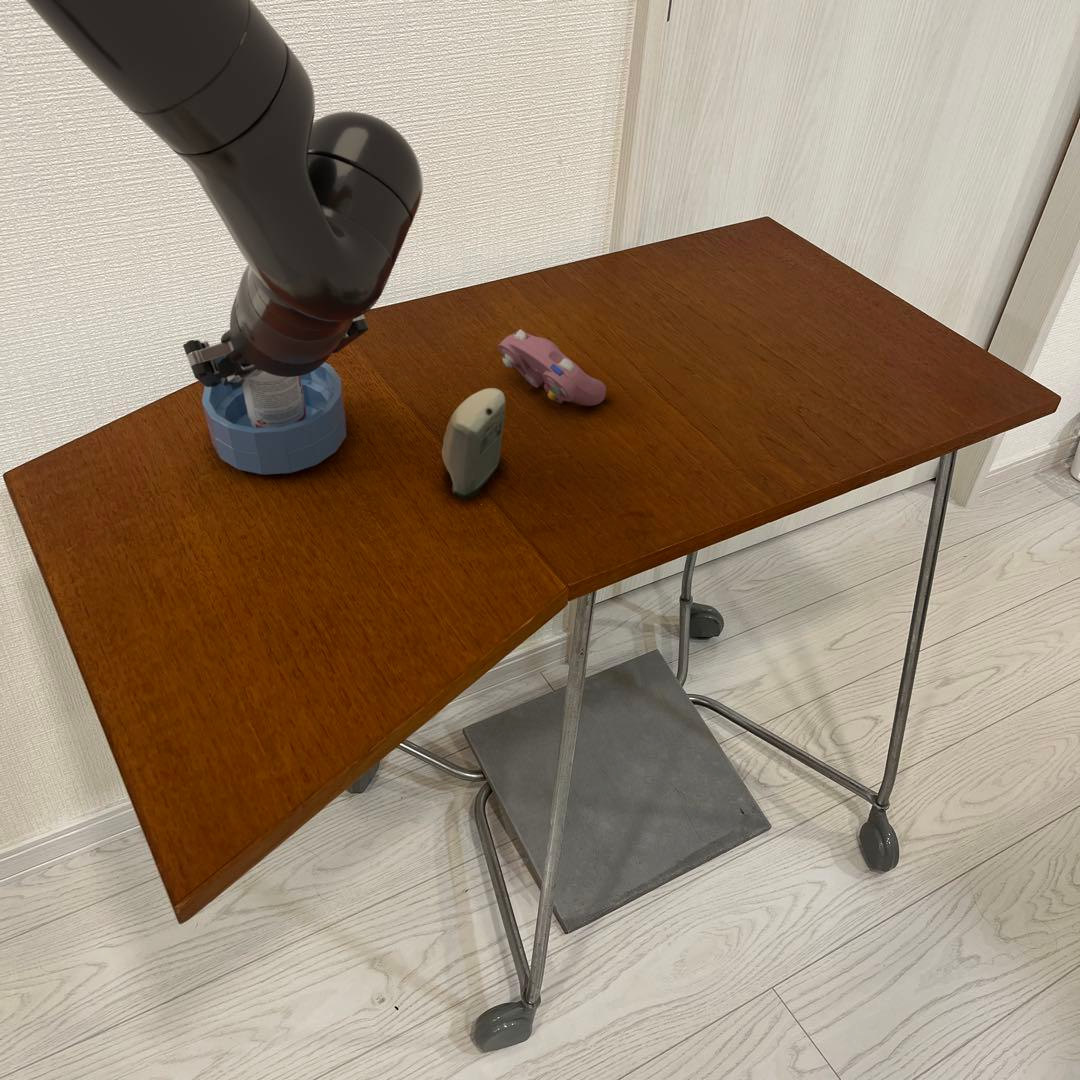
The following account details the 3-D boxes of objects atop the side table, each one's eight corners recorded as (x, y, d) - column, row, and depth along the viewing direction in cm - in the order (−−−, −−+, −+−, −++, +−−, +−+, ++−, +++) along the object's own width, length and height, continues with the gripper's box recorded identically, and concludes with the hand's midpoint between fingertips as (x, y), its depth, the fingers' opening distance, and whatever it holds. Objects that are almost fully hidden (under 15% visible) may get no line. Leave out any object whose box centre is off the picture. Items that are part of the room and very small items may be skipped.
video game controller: (508, 383, 97) (482, 339, 91) (540, 350, 97) (516, 304, 91) (580, 432, 91) (558, 389, 86) (613, 396, 92) (594, 351, 86)
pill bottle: (318, 419, 86) (305, 333, 80) (272, 444, 83) (255, 357, 78) (284, 396, 88) (269, 311, 82) (238, 419, 86) (219, 333, 80)
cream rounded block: (508, 503, 82) (509, 424, 77) (444, 505, 82) (440, 427, 76) (503, 458, 86) (504, 380, 81) (442, 460, 86) (438, 382, 80)
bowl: (238, 495, 82) (227, 447, 78) (198, 421, 89) (185, 373, 85) (367, 454, 86) (362, 406, 83) (318, 386, 93) (312, 339, 89)
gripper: (372, 232, 71) (328, 303, 87) (167, 280, 65) (160, 347, 81) (409, 333, 71) (359, 386, 87) (208, 390, 66) (193, 435, 82)
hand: (263, 367), depth 84 cm, fingers closed on pill bottle, 4 cm apart
